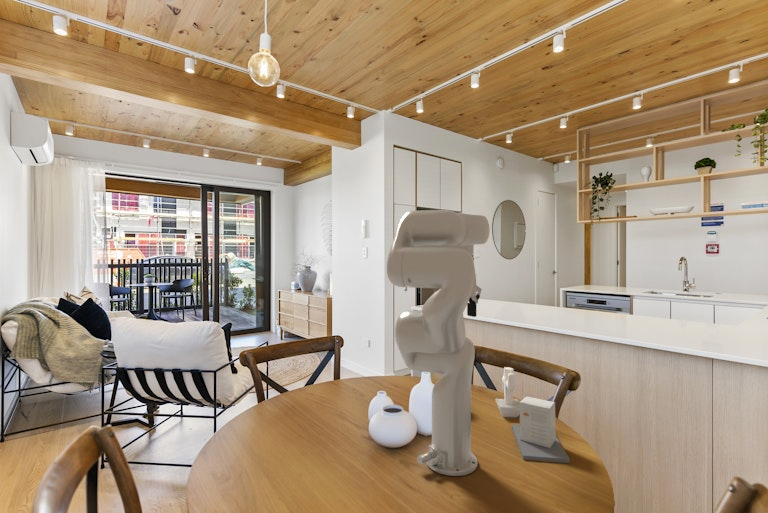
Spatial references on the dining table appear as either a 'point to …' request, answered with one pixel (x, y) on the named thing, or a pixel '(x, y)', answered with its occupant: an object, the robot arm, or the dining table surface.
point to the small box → (537, 421)
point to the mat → (540, 450)
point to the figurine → (508, 395)
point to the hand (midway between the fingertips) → (460, 317)
